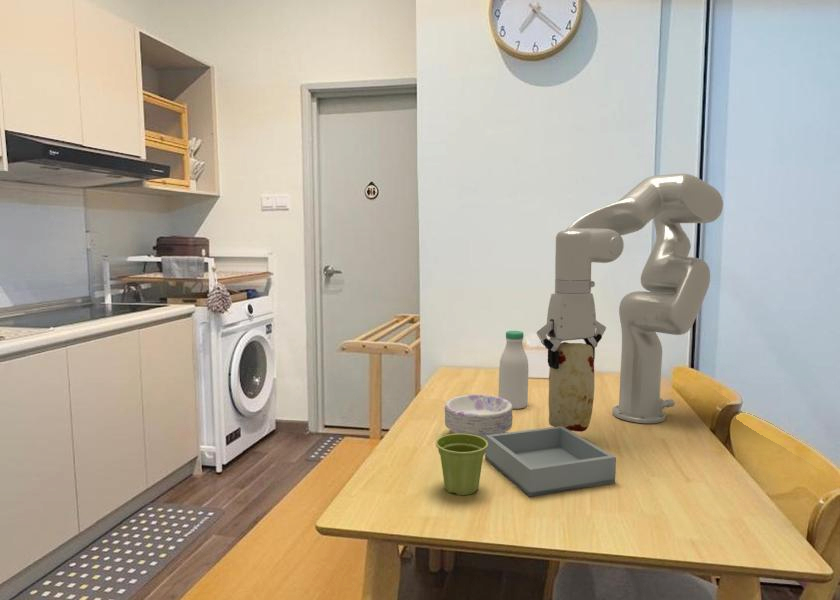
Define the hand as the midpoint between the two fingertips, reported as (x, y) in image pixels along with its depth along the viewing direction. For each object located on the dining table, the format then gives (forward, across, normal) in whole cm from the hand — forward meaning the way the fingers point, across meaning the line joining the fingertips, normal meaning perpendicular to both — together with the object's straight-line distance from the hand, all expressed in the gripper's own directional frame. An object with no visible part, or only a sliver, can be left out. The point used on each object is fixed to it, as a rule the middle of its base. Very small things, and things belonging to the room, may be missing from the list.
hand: (571, 365), depth 127 cm
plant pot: (+16, +33, +15) cm, 40 cm away
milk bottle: (+17, 0, -27) cm, 32 cm away
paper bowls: (+17, +19, -8) cm, 27 cm away
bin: (+16, +14, +13) cm, 25 cm away
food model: (+15, 0, 0) cm, 15 cm away
